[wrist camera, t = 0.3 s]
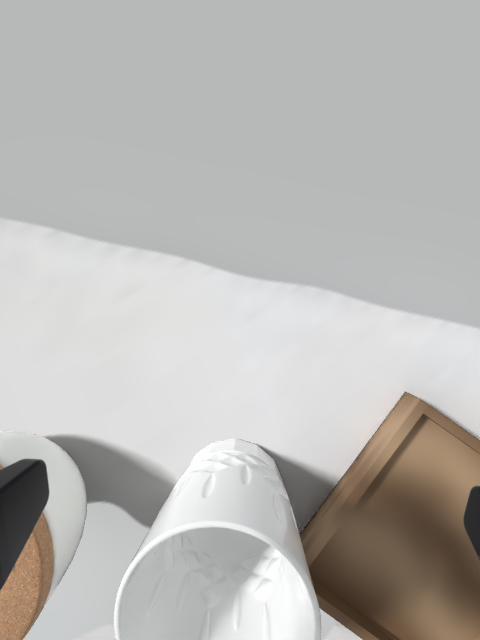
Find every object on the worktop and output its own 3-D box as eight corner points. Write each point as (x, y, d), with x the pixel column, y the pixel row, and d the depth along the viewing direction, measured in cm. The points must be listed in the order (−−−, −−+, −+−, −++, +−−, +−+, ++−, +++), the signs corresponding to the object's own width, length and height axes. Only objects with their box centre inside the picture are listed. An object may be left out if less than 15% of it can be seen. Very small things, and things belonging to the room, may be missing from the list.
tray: (442, 674, 22) (460, 711, 20) (282, 558, 22) (284, 582, 20) (571, 508, 21) (603, 528, 19) (405, 391, 22) (420, 399, 20)
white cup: (280, 420, 22) (301, 507, 12) (300, 534, 22) (338, 715, 12) (166, 439, 22) (96, 538, 12) (186, 551, 23) (133, 740, 13)
